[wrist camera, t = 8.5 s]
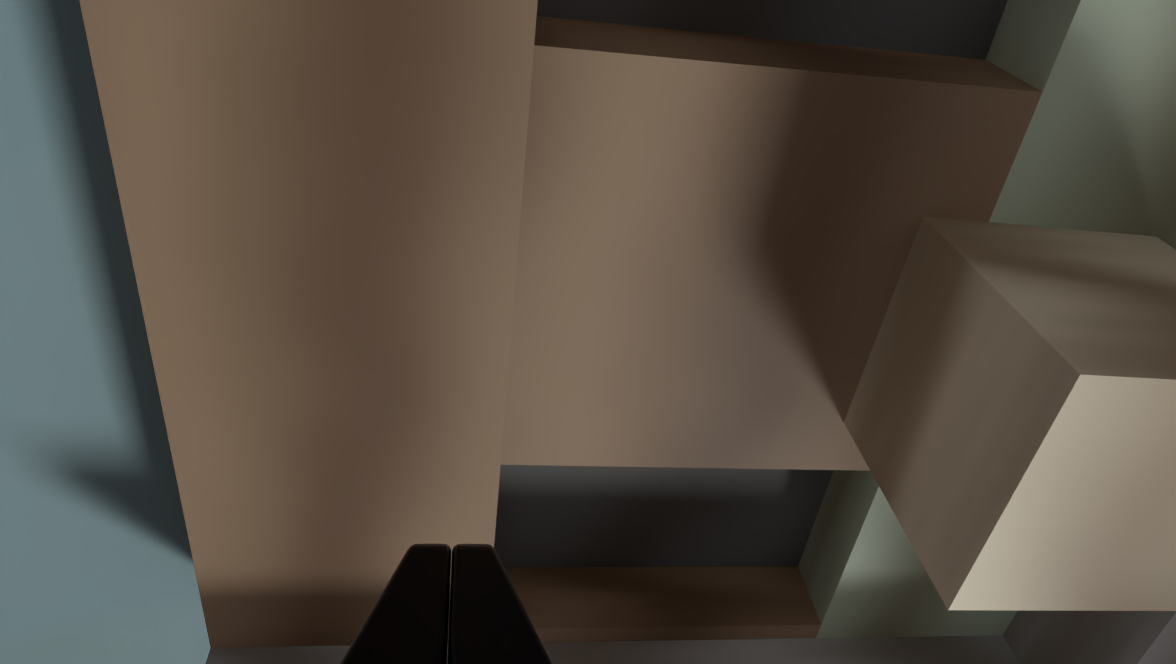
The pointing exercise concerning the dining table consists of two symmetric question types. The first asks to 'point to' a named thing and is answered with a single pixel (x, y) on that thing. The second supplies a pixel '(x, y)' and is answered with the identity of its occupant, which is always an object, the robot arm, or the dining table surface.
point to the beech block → (1029, 416)
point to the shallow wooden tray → (594, 297)
